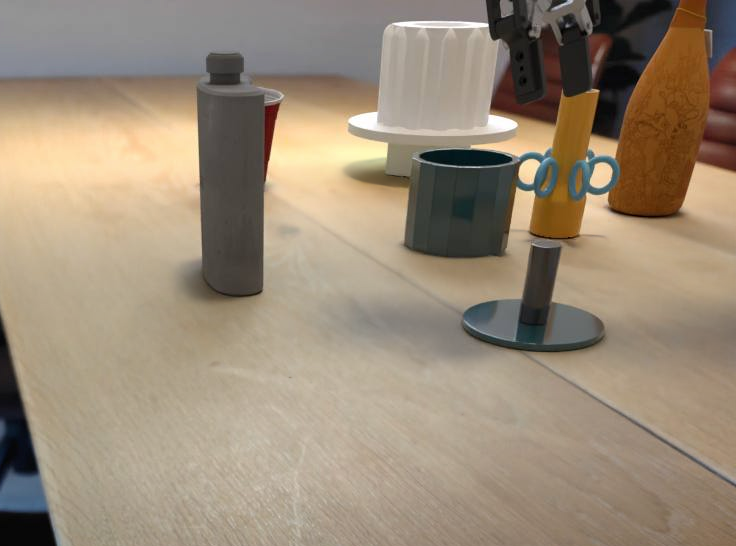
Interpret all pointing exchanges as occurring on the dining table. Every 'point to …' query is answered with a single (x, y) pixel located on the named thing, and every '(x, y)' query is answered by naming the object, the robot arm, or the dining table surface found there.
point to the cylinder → (566, 170)
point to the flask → (231, 175)
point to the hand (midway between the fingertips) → (556, 97)
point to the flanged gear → (434, 91)
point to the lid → (535, 312)
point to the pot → (461, 202)
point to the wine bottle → (665, 119)
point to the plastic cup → (270, 122)
